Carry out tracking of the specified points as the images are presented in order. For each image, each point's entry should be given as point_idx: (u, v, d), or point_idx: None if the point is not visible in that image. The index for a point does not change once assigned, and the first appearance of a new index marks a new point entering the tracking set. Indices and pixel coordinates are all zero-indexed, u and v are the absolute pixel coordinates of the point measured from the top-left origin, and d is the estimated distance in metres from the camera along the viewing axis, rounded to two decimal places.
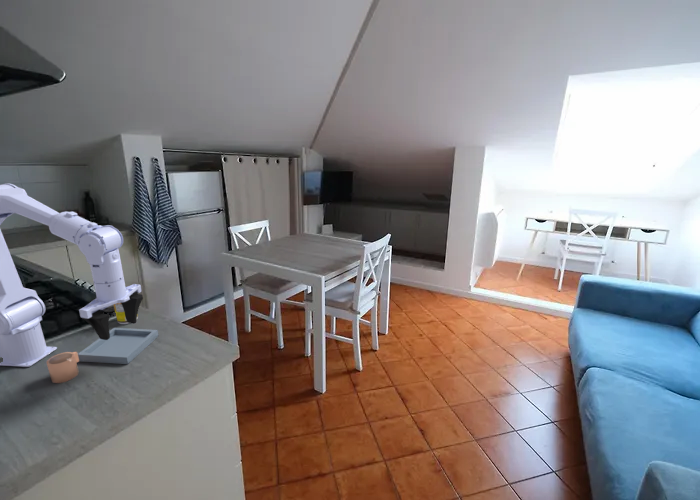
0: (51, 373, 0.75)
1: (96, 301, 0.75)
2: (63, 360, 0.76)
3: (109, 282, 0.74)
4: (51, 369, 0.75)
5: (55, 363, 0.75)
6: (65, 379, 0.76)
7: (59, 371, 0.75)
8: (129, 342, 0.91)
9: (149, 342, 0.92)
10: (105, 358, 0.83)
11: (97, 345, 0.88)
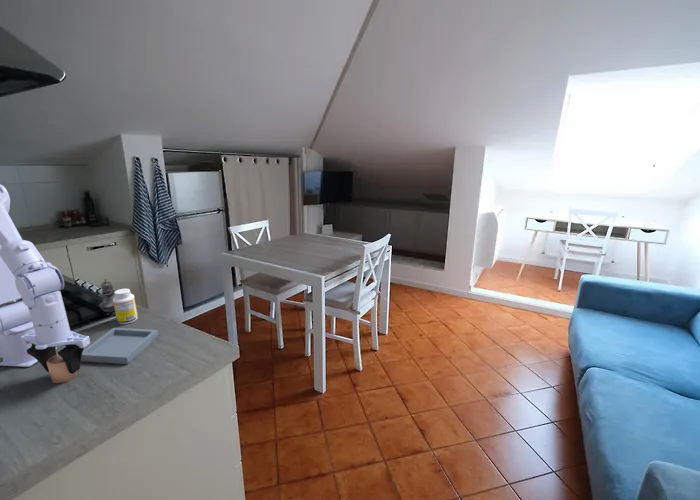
0: (51, 373, 0.75)
1: None
2: None
3: (32, 323, 0.72)
4: (51, 369, 0.75)
5: (55, 363, 0.75)
6: (65, 379, 0.76)
7: (59, 371, 0.75)
8: (129, 342, 0.91)
9: (149, 342, 0.92)
10: (105, 358, 0.83)
11: (97, 345, 0.88)
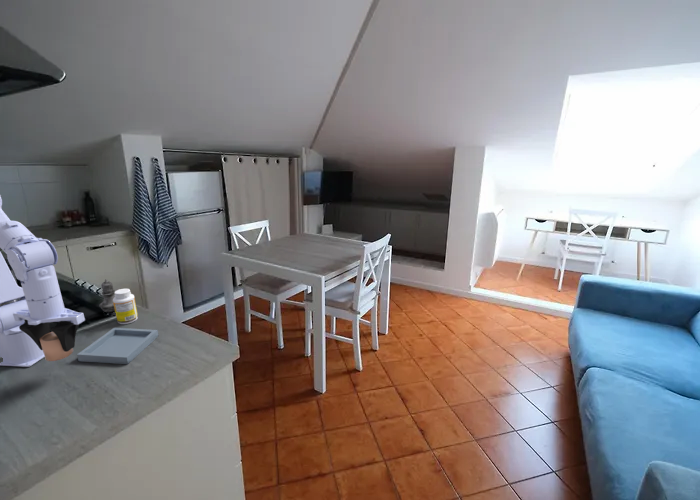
0: (44, 351, 0.73)
1: None
2: (56, 337, 0.74)
3: (25, 298, 0.70)
4: (45, 346, 0.73)
5: (48, 340, 0.73)
6: (59, 357, 0.75)
7: (53, 349, 0.74)
8: (129, 342, 0.91)
9: (149, 342, 0.92)
10: (105, 358, 0.83)
11: (97, 345, 0.88)
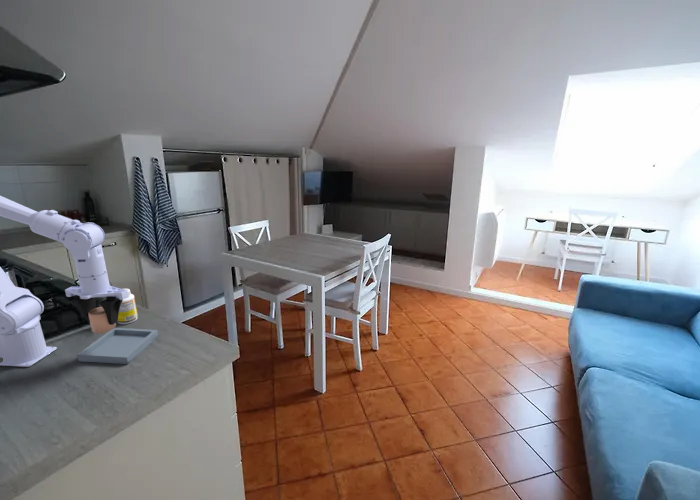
0: (92, 324, 0.82)
1: None
2: (102, 312, 0.83)
3: None
4: (92, 319, 0.81)
5: (96, 314, 0.81)
6: (104, 330, 0.83)
7: (99, 322, 0.82)
8: (129, 342, 0.91)
9: (149, 342, 0.92)
10: (105, 358, 0.83)
11: (97, 345, 0.88)
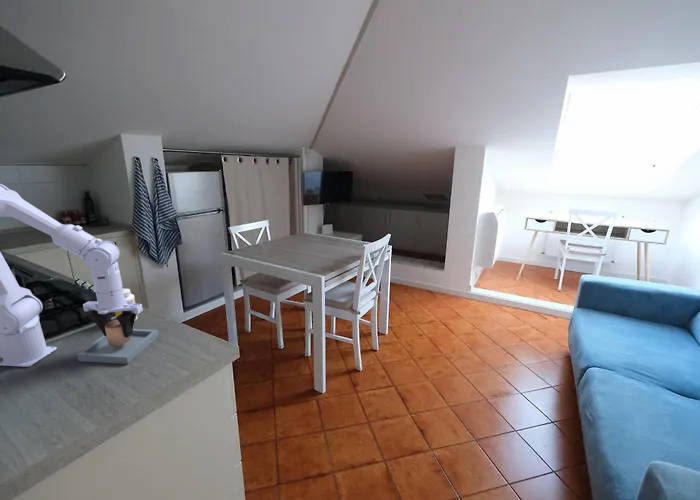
0: (108, 337, 0.86)
1: None
2: (118, 325, 0.87)
3: (95, 291, 0.82)
4: (109, 333, 0.85)
5: (112, 328, 0.86)
6: (120, 342, 0.87)
7: (116, 335, 0.86)
8: (129, 342, 0.91)
9: (149, 342, 0.92)
10: (105, 358, 0.83)
11: (97, 345, 0.88)
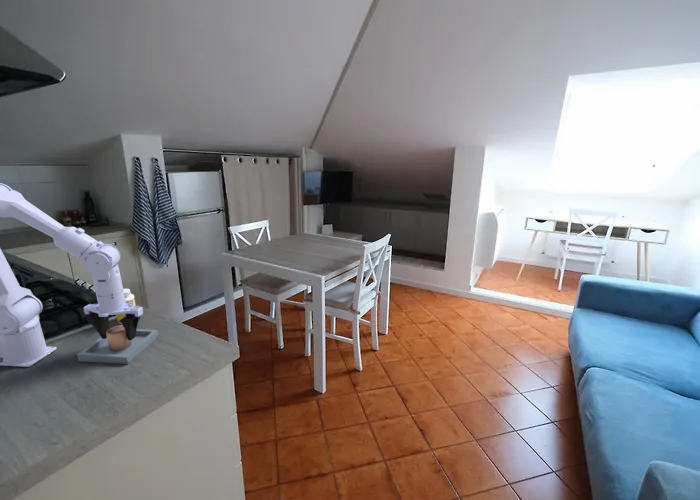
0: (109, 342, 0.86)
1: None
2: (119, 331, 0.87)
3: (96, 294, 0.83)
4: (110, 338, 0.86)
5: (113, 333, 0.86)
6: (121, 348, 0.87)
7: (117, 341, 0.86)
8: None
9: (149, 342, 0.92)
10: (105, 358, 0.83)
11: (97, 345, 0.88)
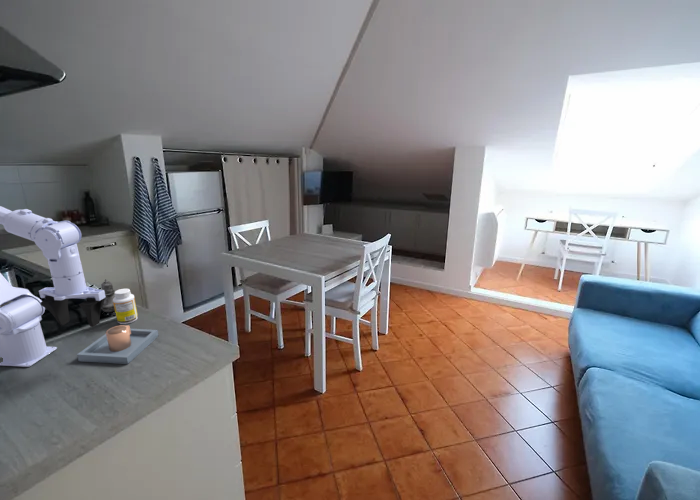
0: (109, 343, 0.86)
1: None
2: (119, 331, 0.87)
3: (51, 275, 0.75)
4: (110, 339, 0.86)
5: (113, 334, 0.86)
6: (121, 348, 0.87)
7: (116, 341, 0.86)
8: None
9: (149, 342, 0.92)
10: (105, 358, 0.83)
11: (97, 345, 0.88)
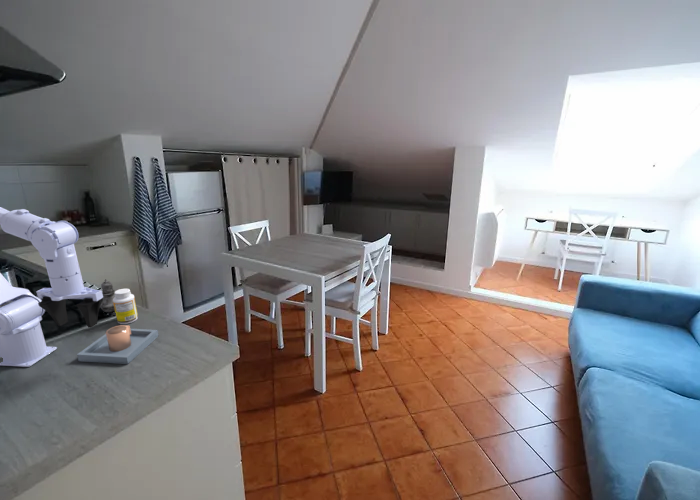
0: (109, 342, 0.86)
1: None
2: (119, 331, 0.87)
3: None
4: (110, 338, 0.86)
5: (113, 333, 0.86)
6: (121, 348, 0.87)
7: (116, 341, 0.86)
8: None
9: (149, 342, 0.92)
10: (105, 358, 0.83)
11: (97, 345, 0.88)
